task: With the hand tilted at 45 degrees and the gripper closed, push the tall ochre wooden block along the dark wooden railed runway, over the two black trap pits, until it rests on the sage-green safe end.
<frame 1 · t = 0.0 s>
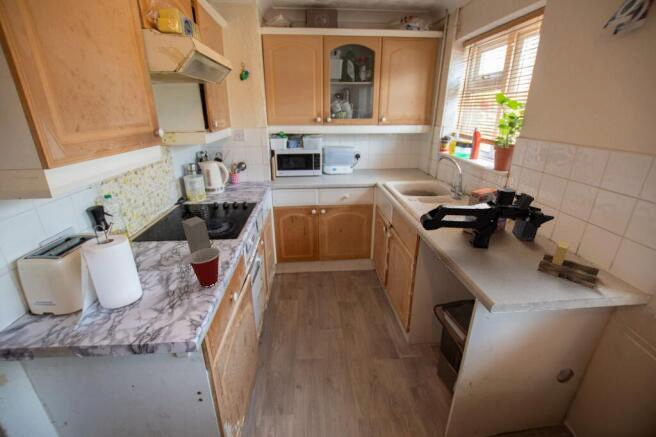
hand: (547, 213, 125), 17 cm above the countertop, tool horizontal, fingers open, 9 cm apart
plastic cup: (208, 283, 106), on the countertop
small box: (522, 237, 142), on the countertop
block: (559, 255, 112), point 6 cm above the countertop, slide at 0.0 cm
cracker box: (475, 229, 149), on the countertop, touching candy bar box
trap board: (566, 273, 113), on the countertop
candy bar box: (493, 230, 149), on the countertop, touching cracker box
skincare box: (200, 254, 125), on the countertop
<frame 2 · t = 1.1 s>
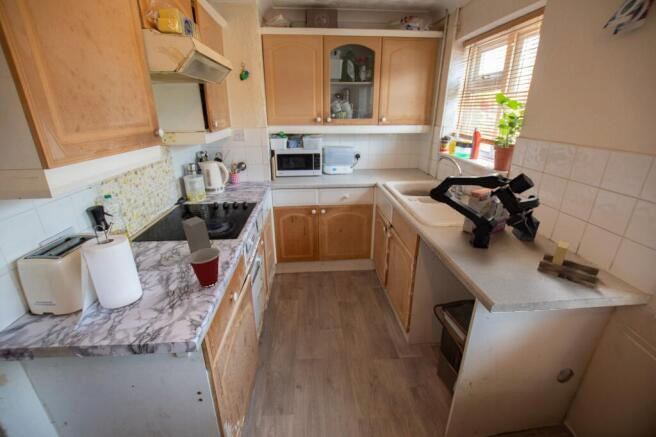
hand: (533, 232, 117), 13 cm above the countertop, tool tilted 45°, fingers open, 8 cm apart
nothing on the countertop moved.
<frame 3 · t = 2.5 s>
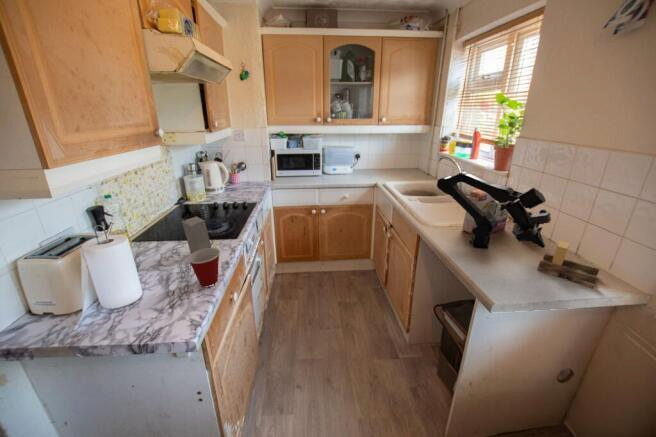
hand: (543, 247, 115), 8 cm above the countertop, tool tilted 45°, fingers closed
nothing on the countertop moved.
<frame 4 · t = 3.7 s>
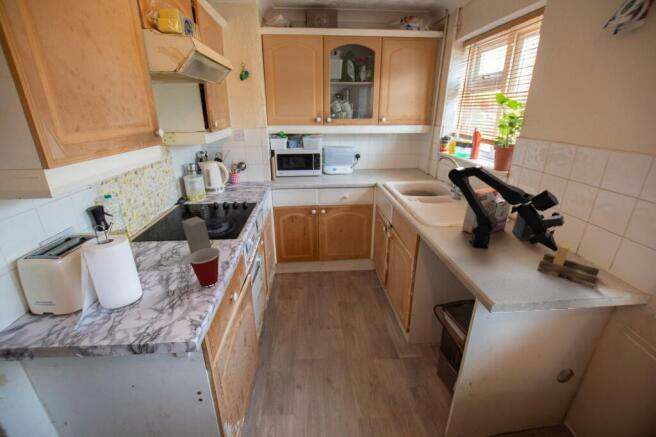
hand: (556, 250, 113), 8 cm above the countertop, tool tilted 45°, fingers closed, pressing on block
block: (561, 255, 112), point 6 cm above the countertop, slide at 0.4 cm, touching gripper
everything else where it was.
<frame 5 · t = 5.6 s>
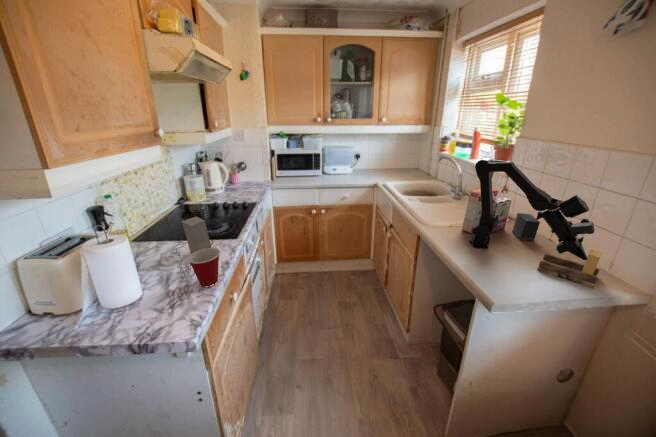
hand: (585, 259, 107), 8 cm above the countertop, tool tilted 45°, fingers closed, pressing on block
block: (590, 264, 106), point 6 cm above the countertop, slide at 9.2 cm, touching gripper
everything else where it was.
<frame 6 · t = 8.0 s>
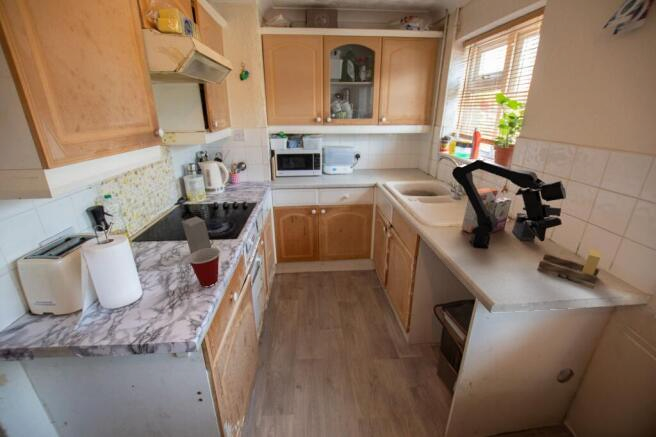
hand: (542, 241, 115), 10 cm above the countertop, tool tilted 25°, fingers closed
block: (590, 264, 106), point 6 cm above the countertop, slide at 9.3 cm
everything else where it was.
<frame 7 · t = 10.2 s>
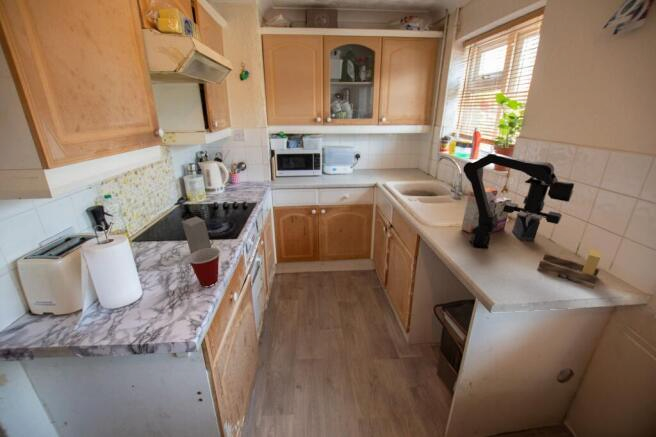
hand: (525, 232, 119), 12 cm above the countertop, tool pointing down, fingers closed
nothing on the countertop moved.
at the end: block slide at 9.3 cm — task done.
